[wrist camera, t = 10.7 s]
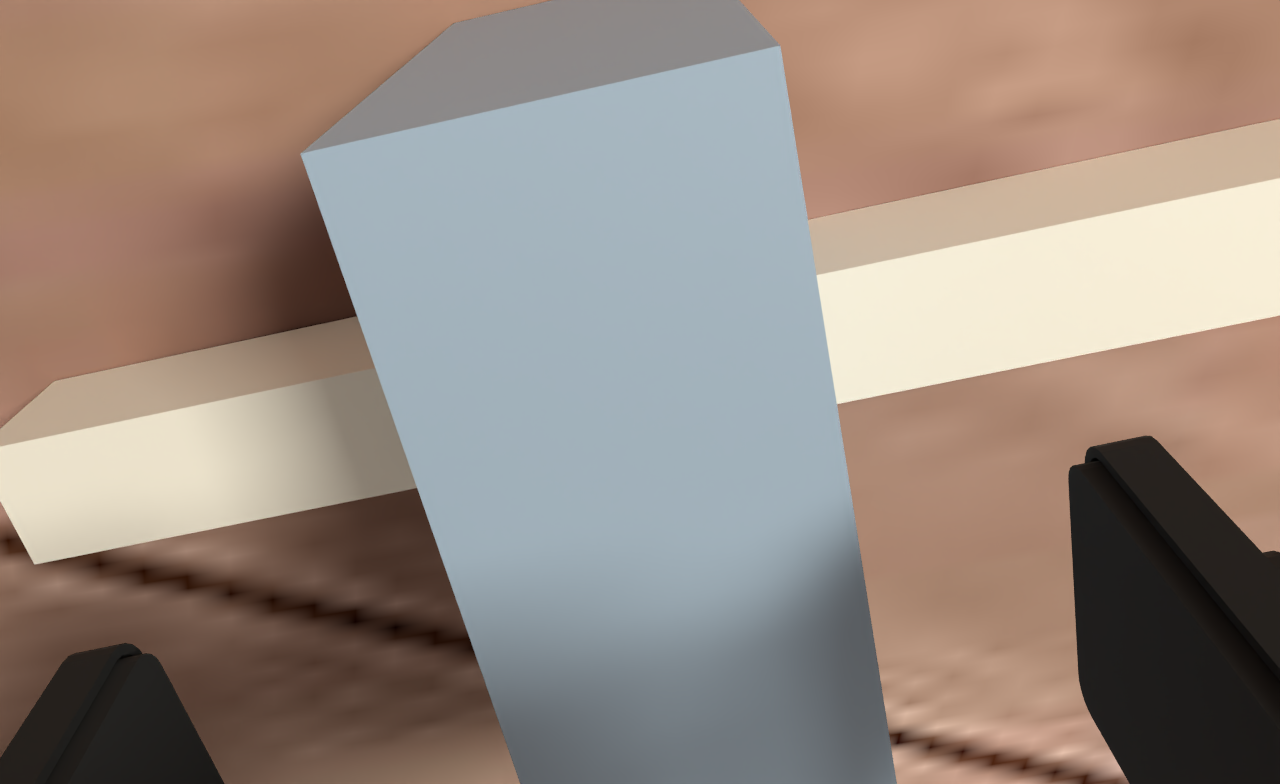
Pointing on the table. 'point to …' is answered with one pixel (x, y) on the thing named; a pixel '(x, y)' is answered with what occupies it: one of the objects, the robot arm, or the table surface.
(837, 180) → the table surface
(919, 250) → the rail
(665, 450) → the grey-blue plate
